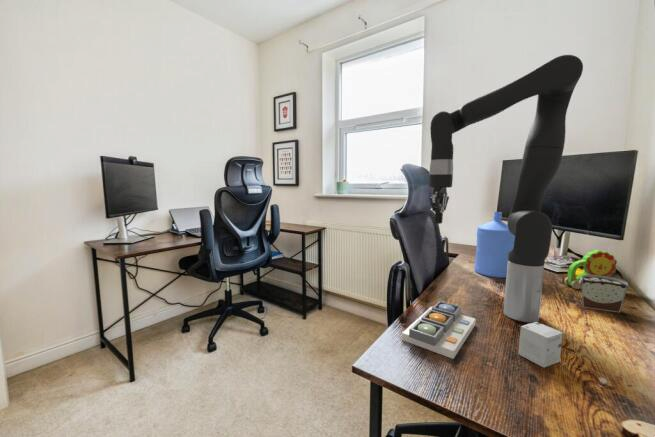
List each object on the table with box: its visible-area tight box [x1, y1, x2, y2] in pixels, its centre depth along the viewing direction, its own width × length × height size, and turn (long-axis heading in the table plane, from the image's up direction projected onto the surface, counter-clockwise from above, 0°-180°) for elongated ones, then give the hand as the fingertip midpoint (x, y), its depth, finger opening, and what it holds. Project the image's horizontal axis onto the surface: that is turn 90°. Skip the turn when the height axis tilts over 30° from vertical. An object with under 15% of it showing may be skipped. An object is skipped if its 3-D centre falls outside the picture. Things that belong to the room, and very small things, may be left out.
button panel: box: [401, 300, 476, 360], centre depth 80 cm, size 13×23×4 cm, turn 140°
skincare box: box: [517, 321, 564, 369], centre depth 69 cm, size 6×6×7 cm
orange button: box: [429, 313, 446, 323], centre depth 81 cm, size 4×4×2 cm
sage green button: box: [418, 324, 436, 336], centre depth 75 cm, size 4×4×2 cm
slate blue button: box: [439, 304, 455, 313], centre depth 87 cm, size 4×4×2 cm
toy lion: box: [564, 249, 618, 290], centre depth 113 cm, size 16×6×15 cm, turn 84°
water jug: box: [474, 211, 515, 279], centre depth 131 cm, size 16×16×28 cm
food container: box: [579, 275, 630, 313], centre depth 97 cm, size 12×6×10 cm, turn 65°
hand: (438, 223), depth 102 cm, fingers closed
